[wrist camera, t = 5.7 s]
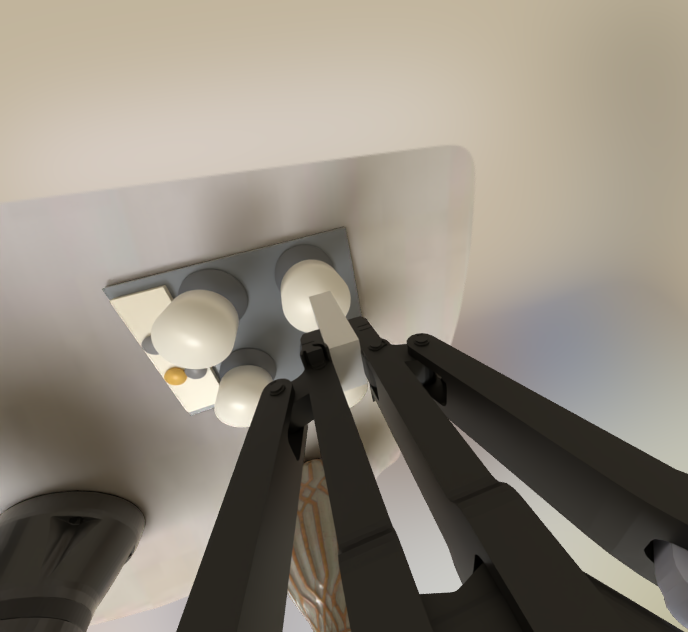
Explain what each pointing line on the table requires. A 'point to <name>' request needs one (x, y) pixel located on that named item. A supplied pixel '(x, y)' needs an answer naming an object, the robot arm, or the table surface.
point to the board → (250, 303)
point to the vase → (317, 556)
